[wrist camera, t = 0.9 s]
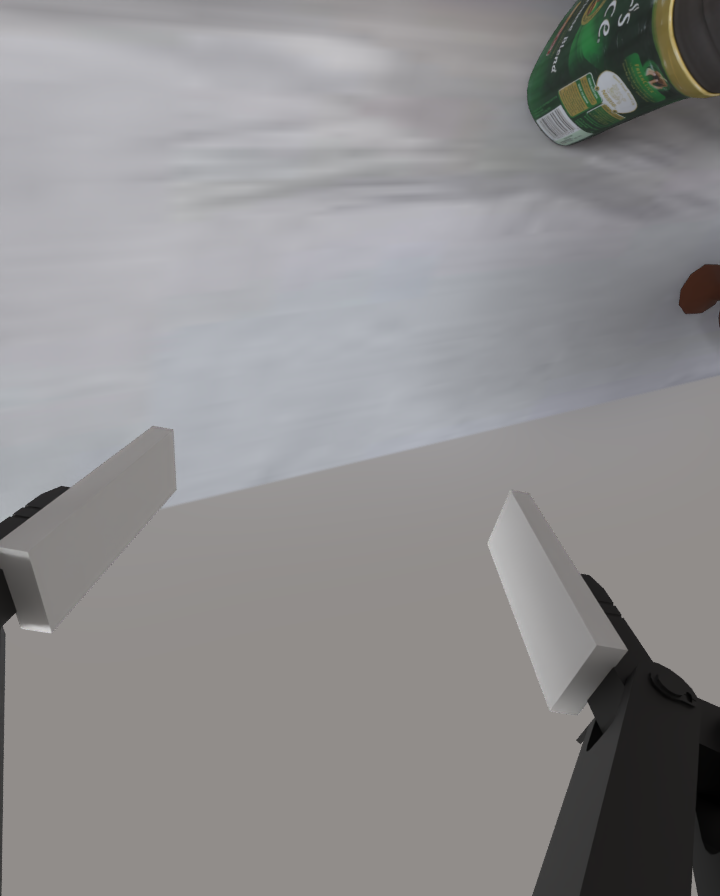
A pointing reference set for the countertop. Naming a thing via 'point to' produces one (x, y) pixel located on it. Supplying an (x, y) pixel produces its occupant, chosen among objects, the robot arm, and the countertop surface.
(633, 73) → the coffee jar
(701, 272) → the ice cream bowl
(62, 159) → the countertop surface
